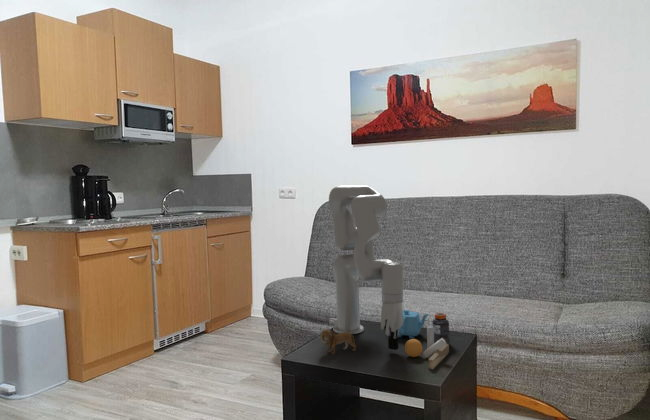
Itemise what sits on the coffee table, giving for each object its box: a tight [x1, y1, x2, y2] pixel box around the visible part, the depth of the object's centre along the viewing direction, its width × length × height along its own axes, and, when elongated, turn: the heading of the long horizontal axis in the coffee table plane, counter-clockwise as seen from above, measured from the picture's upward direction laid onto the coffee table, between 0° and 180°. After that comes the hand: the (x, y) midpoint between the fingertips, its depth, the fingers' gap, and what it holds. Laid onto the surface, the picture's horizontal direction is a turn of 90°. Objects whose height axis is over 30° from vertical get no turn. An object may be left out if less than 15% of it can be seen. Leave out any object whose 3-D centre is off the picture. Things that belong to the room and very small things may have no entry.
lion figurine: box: [320, 328, 358, 355], centre depth 171 cm, size 15×5×9 cm, turn 117°
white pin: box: [422, 338, 446, 359], centre depth 161 cm, size 2×2×8 cm
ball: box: [404, 338, 423, 358], centre depth 164 cm, size 6×6×6 cm
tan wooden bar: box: [427, 343, 450, 370], centre depth 160 cm, size 2×18×3 cm, turn 149°
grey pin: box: [426, 325, 434, 349], centre depth 169 cm, size 2×2×8 cm
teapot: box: [398, 309, 430, 339], centre depth 188 cm, size 18×14×10 cm
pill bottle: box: [432, 312, 450, 345], centre depth 177 cm, size 6×6×11 cm
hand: (393, 348), depth 168 cm, fingers closed
